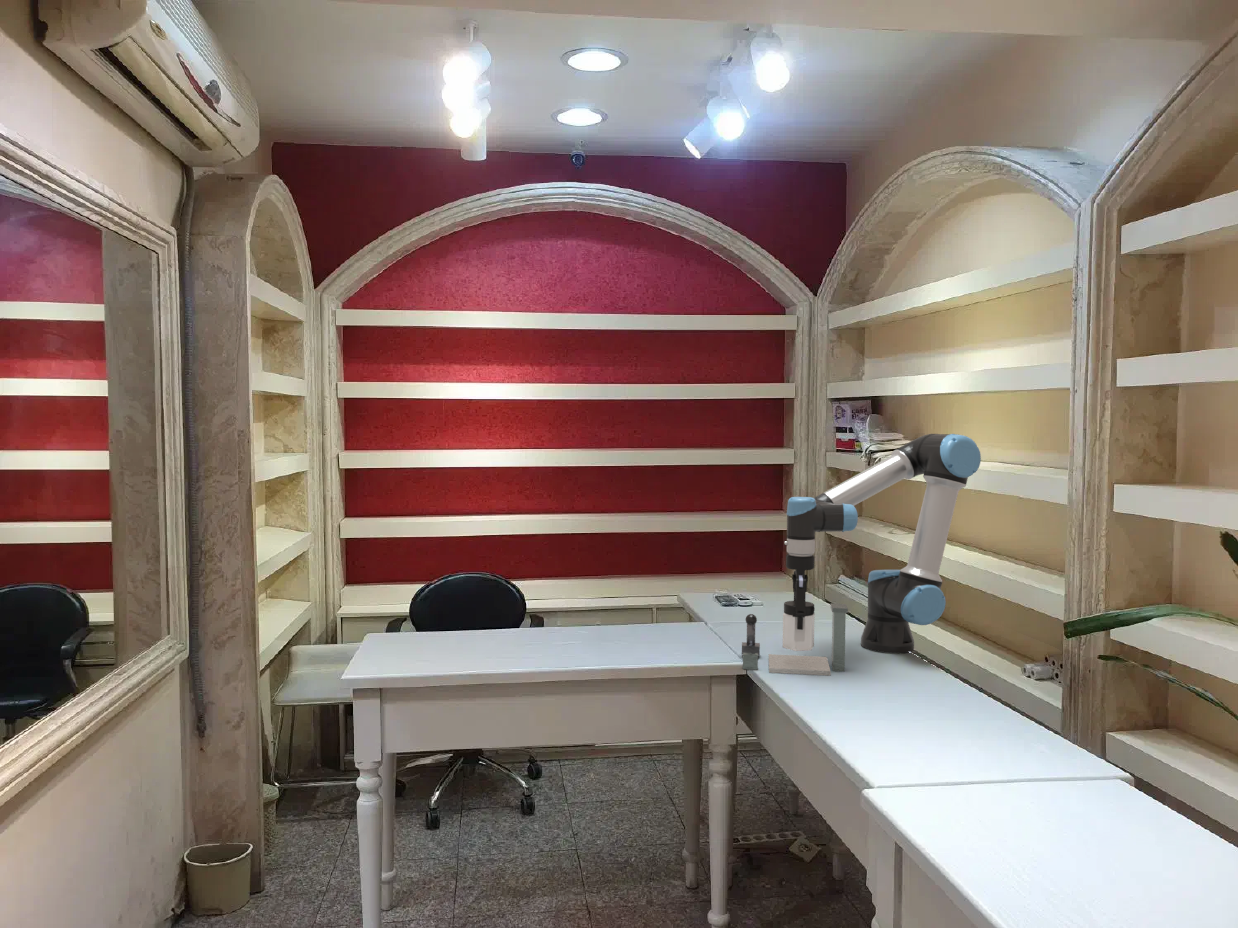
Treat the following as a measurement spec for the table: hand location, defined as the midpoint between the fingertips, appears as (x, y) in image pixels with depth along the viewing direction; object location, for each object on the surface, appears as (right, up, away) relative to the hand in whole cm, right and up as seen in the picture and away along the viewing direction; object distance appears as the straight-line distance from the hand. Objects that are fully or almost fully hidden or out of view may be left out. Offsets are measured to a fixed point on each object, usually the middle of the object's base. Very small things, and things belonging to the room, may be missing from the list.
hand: (798, 636), depth 239 cm
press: (-1, -8, +2) cm, 9 cm away
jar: (0, -3, 0) cm, 3 cm away
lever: (-12, -7, +10) cm, 17 cm away
